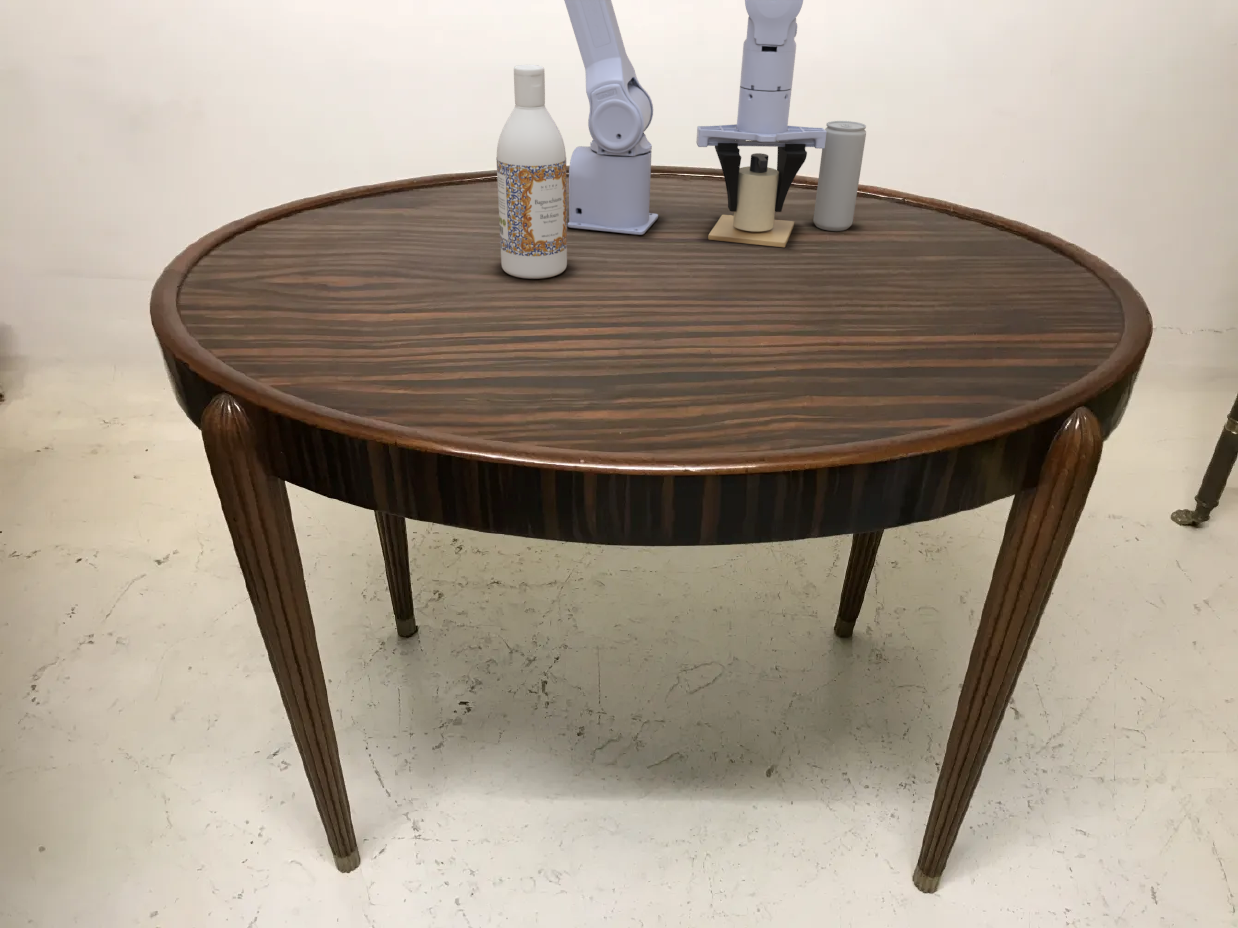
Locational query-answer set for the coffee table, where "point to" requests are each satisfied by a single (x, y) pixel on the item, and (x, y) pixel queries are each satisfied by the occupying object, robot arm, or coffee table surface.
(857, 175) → the beverage can
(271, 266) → the coffee table surface
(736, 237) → the coaster
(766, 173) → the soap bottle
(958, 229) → the coffee table surface
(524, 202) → the bath foam
